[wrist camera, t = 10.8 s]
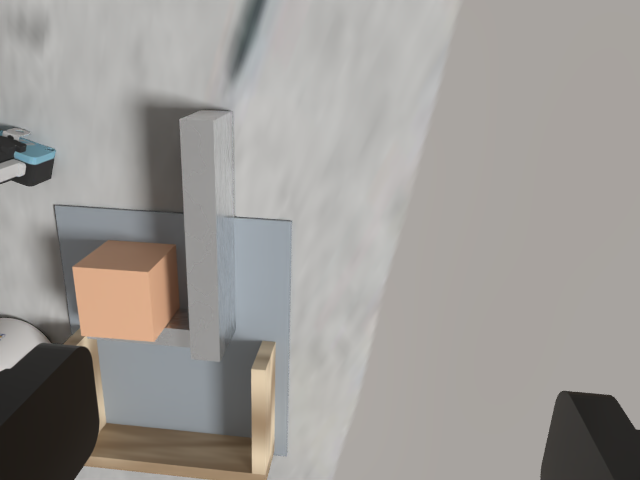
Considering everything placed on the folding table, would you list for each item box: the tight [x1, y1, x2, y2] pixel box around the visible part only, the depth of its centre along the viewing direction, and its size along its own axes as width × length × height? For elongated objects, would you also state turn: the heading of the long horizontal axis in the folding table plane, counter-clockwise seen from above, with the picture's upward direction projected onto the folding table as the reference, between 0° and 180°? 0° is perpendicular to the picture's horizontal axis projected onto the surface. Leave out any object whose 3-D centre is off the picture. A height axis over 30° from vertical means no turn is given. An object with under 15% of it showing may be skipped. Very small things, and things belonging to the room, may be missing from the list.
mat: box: [55, 205, 292, 456], centre depth 42 cm, size 20×17×1 cm
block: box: [72, 240, 180, 342], centre depth 38 cm, size 5×5×5 cm
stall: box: [64, 328, 276, 480], centre depth 42 cm, size 10×15×4 cm, turn 88°
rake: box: [87, 110, 236, 362], centre depth 37 cm, size 16×10×4 cm, turn 178°
